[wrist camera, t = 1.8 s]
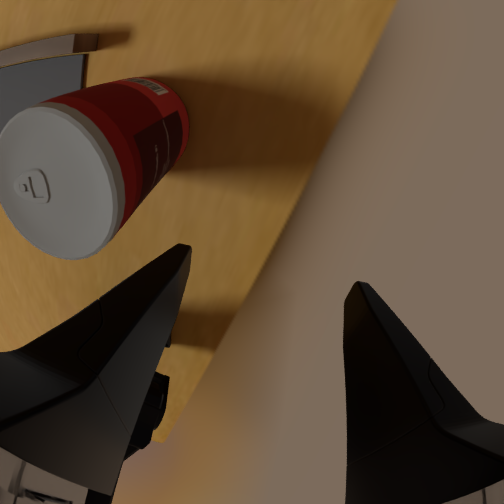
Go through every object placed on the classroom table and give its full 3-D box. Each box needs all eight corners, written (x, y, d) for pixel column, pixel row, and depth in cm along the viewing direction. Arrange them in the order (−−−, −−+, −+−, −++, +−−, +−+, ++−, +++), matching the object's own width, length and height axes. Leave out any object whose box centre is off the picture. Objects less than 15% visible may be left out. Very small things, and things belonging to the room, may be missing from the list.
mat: (83, 183, 22) (81, 185, 22) (-9, 171, 21) (-10, 172, 21) (85, 54, 15) (83, 54, 15) (-15, 72, 15) (-17, 73, 14)
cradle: (93, 201, 23) (75, 219, 21) (-17, 182, 22) (-33, 194, 20) (98, 33, 14) (74, 33, 12) (-25, 61, 13) (-45, 68, 11)
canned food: (84, 99, 18) (-25, 148, 9) (176, 59, 16) (77, 69, 7) (116, 183, 22) (35, 269, 13) (205, 159, 20) (147, 250, 11)
